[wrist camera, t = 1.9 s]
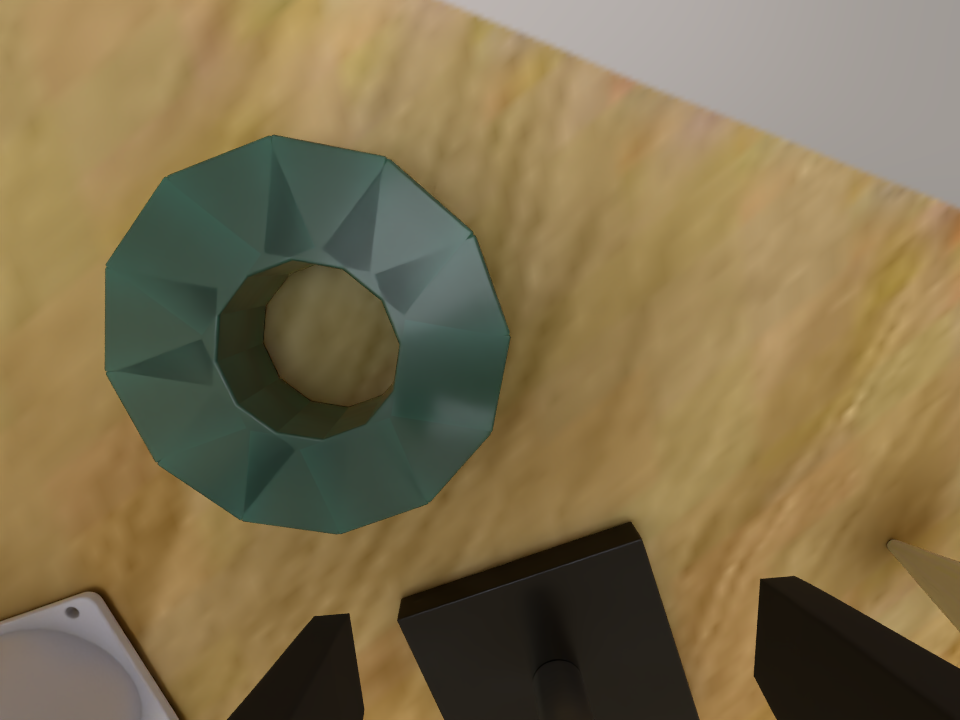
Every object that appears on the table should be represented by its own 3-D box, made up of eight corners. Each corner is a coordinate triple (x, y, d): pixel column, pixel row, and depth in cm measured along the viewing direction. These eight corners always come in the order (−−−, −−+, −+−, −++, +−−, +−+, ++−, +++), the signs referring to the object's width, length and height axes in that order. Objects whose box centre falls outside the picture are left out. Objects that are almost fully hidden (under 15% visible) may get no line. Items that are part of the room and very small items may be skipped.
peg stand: (482, 773, 21) (488, 953, 16) (400, 598, 19) (373, 735, 13) (690, 707, 21) (772, 869, 15) (630, 521, 18) (700, 630, 13)
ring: (261, 522, 18) (218, 577, 15) (112, 236, 16) (23, 230, 12) (539, 425, 17) (555, 461, 14) (429, 113, 15) (419, 74, 12)
